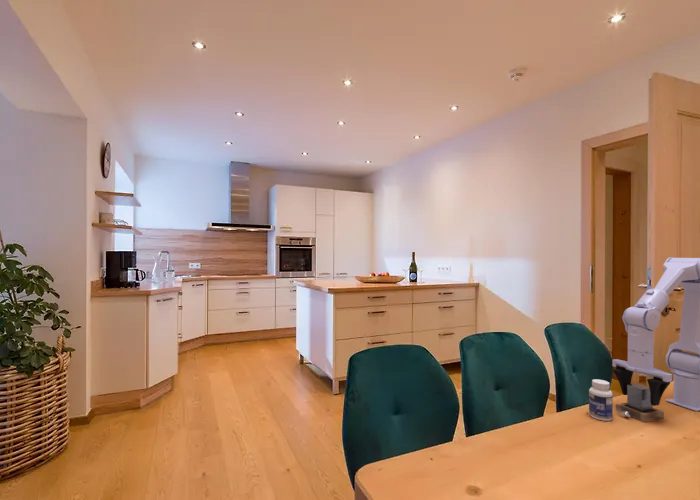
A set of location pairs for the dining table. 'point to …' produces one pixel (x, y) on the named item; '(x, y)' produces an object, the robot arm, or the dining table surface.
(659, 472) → the dining table surface
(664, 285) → the robot arm
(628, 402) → the steel post
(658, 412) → the walnut clamp block
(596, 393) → the pill bottle
